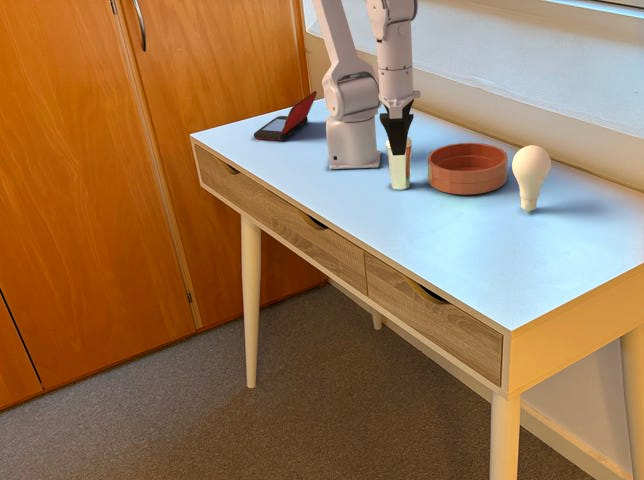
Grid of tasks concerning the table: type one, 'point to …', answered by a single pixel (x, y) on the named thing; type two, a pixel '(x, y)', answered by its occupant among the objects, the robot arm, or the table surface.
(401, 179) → the milkshake
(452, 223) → the table surface
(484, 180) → the bowl
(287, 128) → the handheld game console
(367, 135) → the robot arm
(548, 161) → the lightbulb
